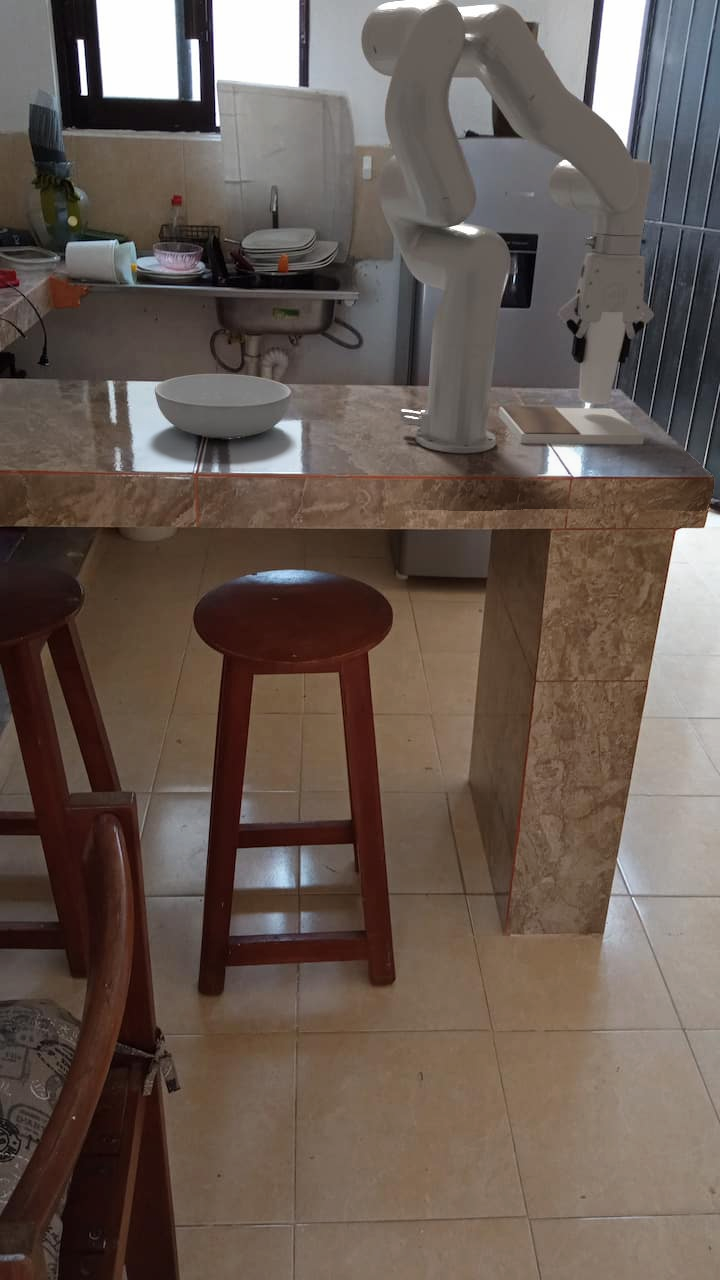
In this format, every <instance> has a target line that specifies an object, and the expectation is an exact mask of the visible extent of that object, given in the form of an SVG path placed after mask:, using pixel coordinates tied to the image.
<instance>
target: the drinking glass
mask: <svg viewBox="0 0 720 1280" xmlns="http://www.w3.org/2000/svg"><path fill="white" fill-rule="evenodd" d="M625 330H626V323H624V322H623V312H606V311H604V312H602V315H601V319H600V321H598V322H589V327H588V328H587V330H586V332H585V333H584V338H585V339H586V344H585V351H584V358H583V362H582V363H580V369H579V383H578V384H579V385H578V394H577V397H578V400H579V401H581V402H584V403H587V404H592V405H602V404H607V403H608V402H609V401H610V400H611V395H612V388H613V385H614V380H615V376H616V371H617V368H618V364H619V362H618V360H619V356H620V352H621V348H622V344H623V340H624V335H625Z"/></svg>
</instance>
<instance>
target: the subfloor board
mask: <svg viewBox="0 0 720 1280" xmlns="http://www.w3.org/2000/svg"><path fill="white" fill-rule="evenodd" d="M555 408H556V409H557V410H558V411H559V412H560V413H561V414H562V415H563V416H564V417H565V418H566V419H567V420H568V421H569V422H570V423H571V424H572V425H573V426H574V427H575V428H576V429H577V430H578V431H579V432H580V434H525V433H524V432H523V431H522V430H521V429H520V427H519V426H518V425H517V424H516V423H515V422H514V420H513V419H512V418H511V417H510V416H509V414H508V413H507V412H506V411H505V410H504V408H503V406H499V409H498V417H499V418H500V420H501V421H502V422H503V423H504V425H505V426H506V427H507V428H508V430H509V431H510V432H511V433H512V435H513V436H514V437H515V438H516V440H517V441H518V442H519V443H520V444H546V445H547V444H548V445H549V444H550V445H551V444H554V445H555V444H556V445H558V444H560V445H561V444H562V445H564V444H569V445H570V444H571V445H574V444H575V445H576V444H577V445H578V444H579V445H643V444H644V438H645V434H643V432H641V431H640V430H638V428H636V427H635V426H634V425H633V424H632V423H630V422H629V421H628V420H627V419H626V418H624V416H622V415H621V414H620V413H618V412H617V411H616V410H615V409H613V408H599V407H598V408H595V407H594V408H592V407H591V408H589V407H588V408H586V407H583V408H582V407H581V408H580V407H555Z"/></svg>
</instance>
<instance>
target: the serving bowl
mask: <svg viewBox="0 0 720 1280" xmlns="http://www.w3.org/2000/svg"><path fill="white" fill-rule="evenodd" d="M154 395H155V399H156V403H157V406H158V409H159V411H160V413H161V414H162V415H163V417H164V418H165V419H166V420H167V421H168V422H169V423H170V424H171V425H173V426H174V427H176V428H177V429H180V430H182V431H184V432H187V433H189V434H193V435H197V436H200V435H201V437H203V436H205V437H204V438H207V437H210V438H209V439H213V438H223V439H222V440H227V439H226V438H237V439H239V438H238V437H243V436H246V437H251V436H253V435H258V434H261V433H263V432H266V431H268V430H271V429H272V428H274V427H275V426H276V425H277V424H279V423H280V422H281V421H282V420H283V419H284V416H285V415H286V414H287V412H288V409H289V406H290V403H291V398H292V397H291V396H292V390H291V388H290V387H288V386H287V385H285V384H283V383H281V382H279V381H276V380H272V379H269V378H264V377H259V376H254V375H253V376H252V375H245V374H232V373H231V374H230V373H229V374H227V373H203V374H191V375H183V376H179V377H174V378H170V379H167V380H164V381H161V382H160V383H158V384H157V385H156V386H155V387H154ZM243 438H244V437H243Z"/></svg>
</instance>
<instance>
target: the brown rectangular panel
mask: <svg viewBox="0 0 720 1280" xmlns="http://www.w3.org/2000/svg"><path fill="white" fill-rule="evenodd" d="M502 407H503V408H504V410H505V411H506V412H507V413H508V414H509V416H510V417H511V418H512V419H513V420H514V422H515V423H516V424H517V425H518V426H519V427H520V429H521V430H522V431H523V432H524V433H525V434H580V432H579V431H578V430H577V429H576V428H575V427H574V426H573V425H572V424H571V423H570V422H569V421H568V420H567V419H566V418H565V417H564V416H563V415H562V414H561V413H560V412H559V411H558V410H557V409H556V408H557V407H555V406H532V405H531V406H525V405H523V406H522V405H520V406H519V405H513V406H512V405H502Z"/></svg>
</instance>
